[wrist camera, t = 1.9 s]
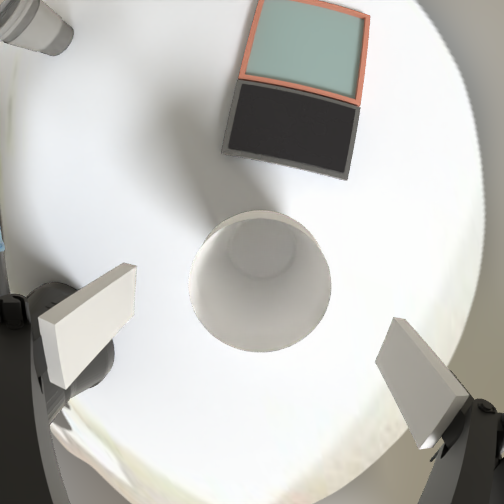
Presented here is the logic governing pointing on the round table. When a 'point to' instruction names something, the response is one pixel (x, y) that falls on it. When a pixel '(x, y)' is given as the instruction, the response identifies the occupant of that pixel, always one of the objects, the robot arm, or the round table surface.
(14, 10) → the cup
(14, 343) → the robot arm
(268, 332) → the cup
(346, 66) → the print frame
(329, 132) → the ink pad
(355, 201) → the round table surface
